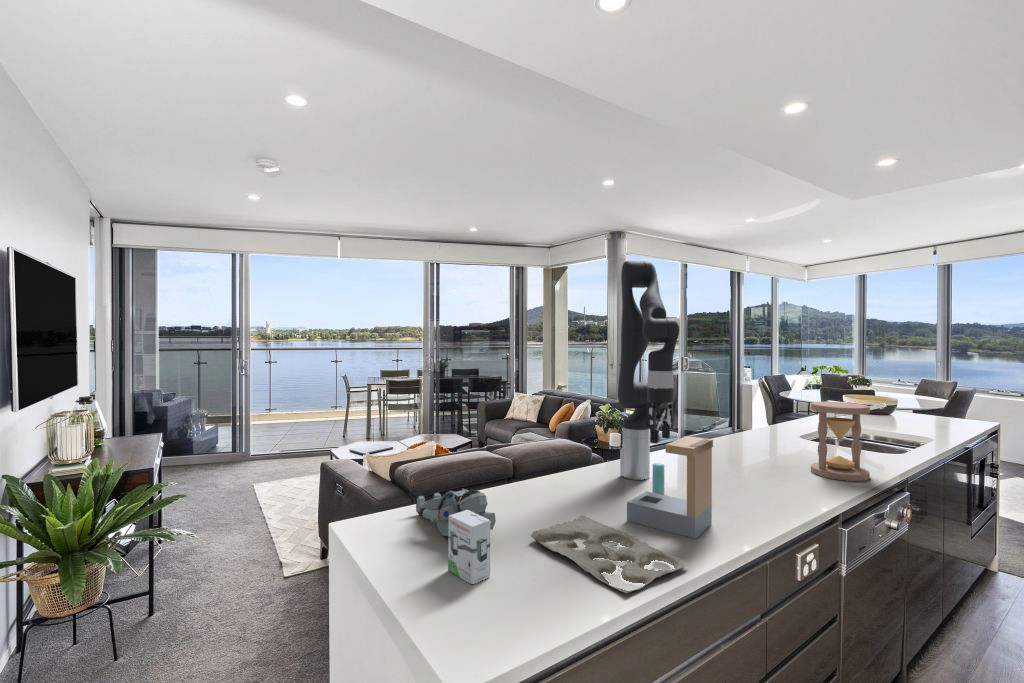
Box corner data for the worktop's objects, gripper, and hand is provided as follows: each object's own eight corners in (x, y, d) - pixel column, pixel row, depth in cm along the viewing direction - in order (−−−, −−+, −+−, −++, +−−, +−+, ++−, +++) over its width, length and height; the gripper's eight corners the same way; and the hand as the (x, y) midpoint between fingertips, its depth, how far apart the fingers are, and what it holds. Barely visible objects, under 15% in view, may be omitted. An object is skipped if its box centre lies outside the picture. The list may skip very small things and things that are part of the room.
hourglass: (851, 468, 182) (851, 401, 182) (881, 482, 165) (882, 408, 165) (801, 467, 184) (801, 401, 184) (826, 480, 167) (826, 407, 167)
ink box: (446, 570, 102) (446, 514, 102) (465, 563, 105) (465, 508, 105) (472, 586, 96) (472, 525, 95) (491, 577, 99) (491, 519, 99)
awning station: (625, 521, 129) (625, 438, 129) (648, 507, 140) (648, 431, 140) (693, 540, 117) (693, 448, 117) (712, 523, 128) (713, 439, 128)
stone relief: (625, 601, 91) (691, 570, 102) (625, 586, 91) (690, 556, 102) (523, 542, 118) (584, 522, 129) (522, 531, 118) (584, 512, 129)
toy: (453, 484, 142) (509, 483, 118) (458, 522, 140) (515, 530, 115) (398, 494, 132) (446, 496, 108) (402, 536, 130) (451, 547, 106)
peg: (650, 501, 145) (650, 464, 145) (655, 499, 147) (655, 462, 147) (661, 504, 143) (661, 466, 143) (666, 501, 145) (666, 464, 145)
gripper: (658, 383, 153) (657, 435, 153) (638, 386, 142) (637, 442, 142) (681, 385, 148) (681, 438, 148) (663, 388, 137) (662, 446, 137)
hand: (660, 440), depth 145 cm, fingers open, 8 cm apart
